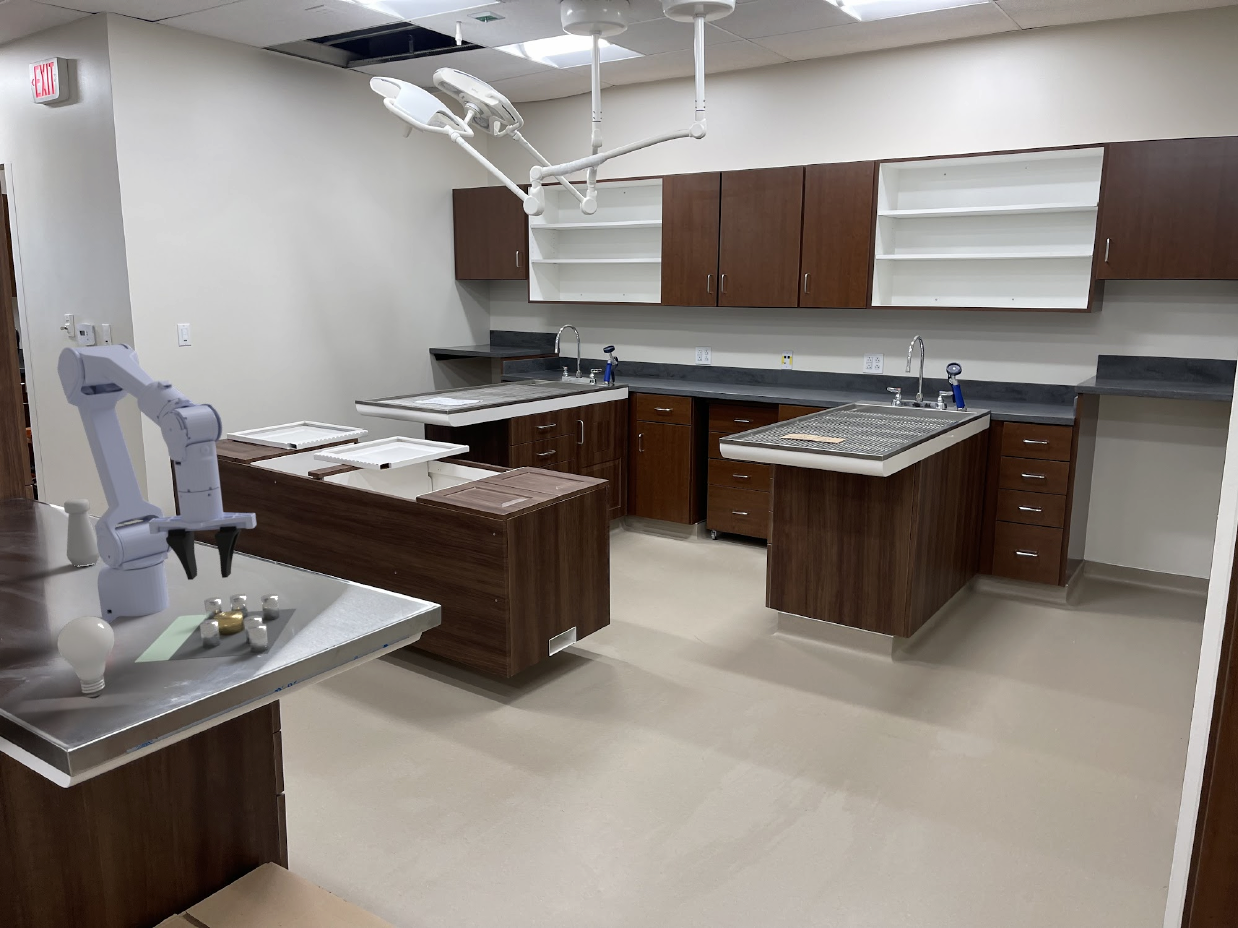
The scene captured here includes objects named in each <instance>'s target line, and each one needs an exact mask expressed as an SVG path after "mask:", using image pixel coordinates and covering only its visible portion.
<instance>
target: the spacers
mask: <svg viewBox="0 0 1238 928" xmlns="http://www.w3.org/2000/svg"><path fill="white" fill-rule="evenodd" d="M260 599H261V607H262V608H261V609H262V610H261V611H263V619H264V620H275V619H278V618H279V617H280V614H279V610H280V606H279V596H278V594H277V593H268V594H264V595H262V596H261V598H260ZM229 603H230V604H229V605H230V611H240V612H242V613H243V619H244V624H245V633H246V642H247V643H248V644H250V650H251V652H252V653H261V652H264V651H267V650H268V649H269V647H268V638H267V629H266V624H262V617H261V616H257V615H256V616H249V617H248V612H249V610H248V609H249V608H248V600H247V594H245V593H237V594H232V595H231V596H230V597H229ZM204 610H205V611H204V612H205V614H206V621H203V622H201V623H200V629H201V637H202V646H203V648H207V649H208V648H215V647H217V646H219V645H220V644H221V643H220V634H219V626H218V620H214V616H216V615H217V614H220V613H223V603H222V598H221V597H217V596H216V597H210V598H207V599H205V600H204Z"/></svg>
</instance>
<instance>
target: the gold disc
mask: <svg viewBox="0 0 1238 928" xmlns="http://www.w3.org/2000/svg"><path fill="white" fill-rule="evenodd" d="M214 620H218V626H219V634H220V635H221V636H226V635H233V634H237V633H239V632H241V631H243V630H244V622H243V613H242V612H240V611H231V610H229V611H224V612H223V613H220V614H217V615H216V616H214Z"/></svg>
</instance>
